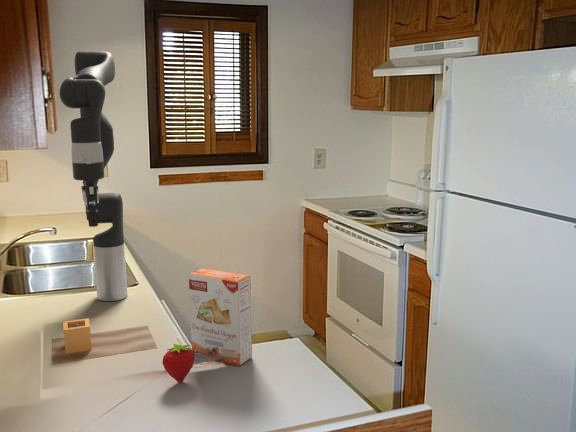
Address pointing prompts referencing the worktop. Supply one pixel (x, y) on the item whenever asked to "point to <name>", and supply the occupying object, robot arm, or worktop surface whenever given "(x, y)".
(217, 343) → the cracker box
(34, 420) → the worktop surface
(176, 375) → the strawberry
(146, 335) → the board
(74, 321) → the collar
